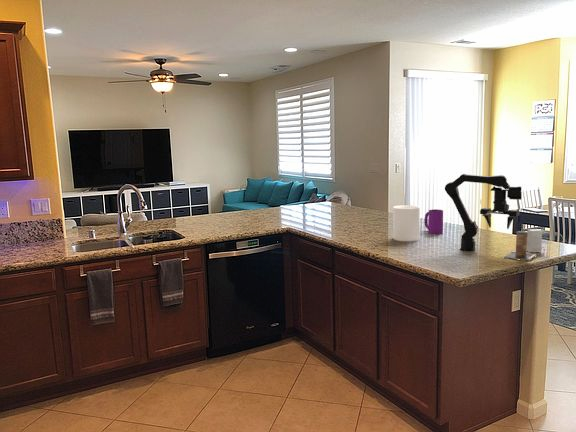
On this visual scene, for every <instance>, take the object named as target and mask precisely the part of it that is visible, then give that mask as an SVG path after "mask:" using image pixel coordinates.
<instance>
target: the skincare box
mask: <svg viewBox="0 0 576 432" xmlns="http://www.w3.org/2000/svg"><path fill="white" fill-rule="evenodd" d="M526 232H528V237H527V251H528V252H527V253H529V252H539V253H542V243H543V241H542V240H543V230H541V229H539V228H534V229H533V228H531V229H526Z"/></svg>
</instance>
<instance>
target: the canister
mask: <svg viewBox="0 0 576 432" xmlns="http://www.w3.org/2000/svg"><path fill="white" fill-rule="evenodd" d="M392 207H393V208H392V213H393V214H392V226H393V227H392V238H393V240H395V241H397V242H398V241H399V242H415V241H420V226H421V225H420V222H421V221H420V219H421V218H420V212H421V211H420V209H421V207H420V206H419V205H407V204H404V205H403V204H402V205H401V204H400V205H394V206H392Z"/></svg>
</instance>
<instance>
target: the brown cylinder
mask: <svg viewBox="0 0 576 432" xmlns="http://www.w3.org/2000/svg"><path fill="white" fill-rule="evenodd" d="M515 235H516V237H515V252H516V256H515V257H516V258H526V256H527V253H528V252H527V237H528V232H527V231H523V230H517V231H516V234H515Z"/></svg>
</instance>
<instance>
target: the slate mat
mask: <svg viewBox="0 0 576 432" xmlns="http://www.w3.org/2000/svg"><path fill="white" fill-rule="evenodd" d="M515 256H516V250H511V251H510V253H509V254H506V255H505V256H503V259H507V258H511V259H510V260H514V259H520V260H519V261H522V260H528V261H527V262H530V261H529V260H531V259H532V258H534V257H535V256H536V257H537V254H536V253H529V252H527V256H526V258H516V257H515ZM536 257H535V258H536ZM535 258H534V259H535ZM532 260H533V259H532ZM532 260H531V261H532Z"/></svg>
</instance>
